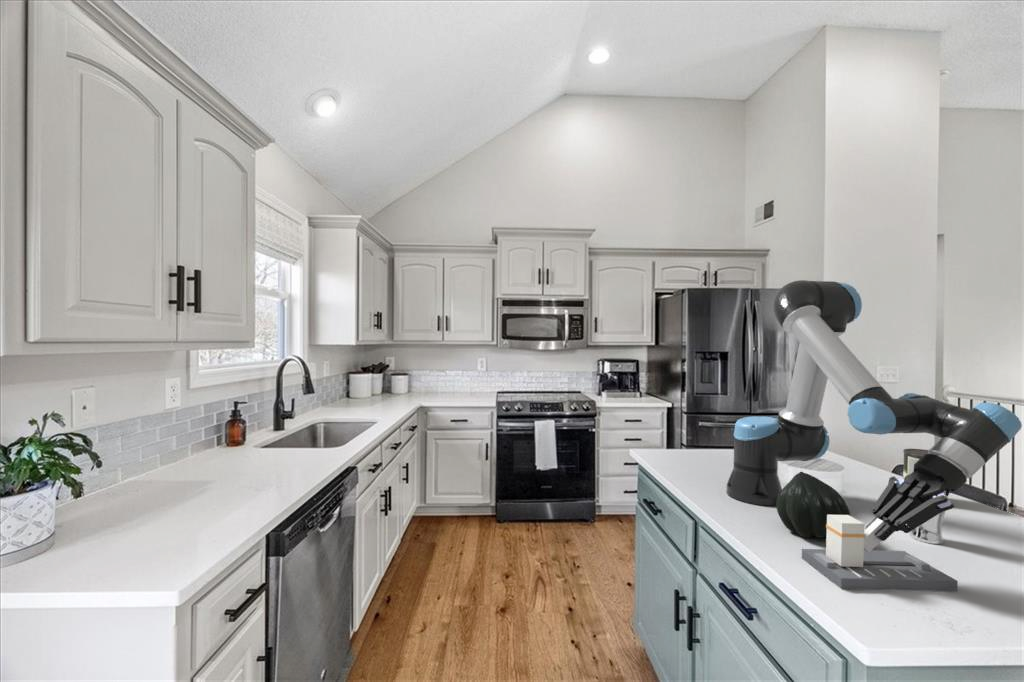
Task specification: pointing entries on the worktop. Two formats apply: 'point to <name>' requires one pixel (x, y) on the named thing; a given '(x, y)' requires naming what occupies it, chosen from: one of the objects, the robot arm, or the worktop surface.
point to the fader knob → (845, 540)
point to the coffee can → (911, 459)
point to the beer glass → (930, 530)
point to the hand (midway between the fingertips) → (861, 546)
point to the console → (882, 572)
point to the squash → (809, 505)
